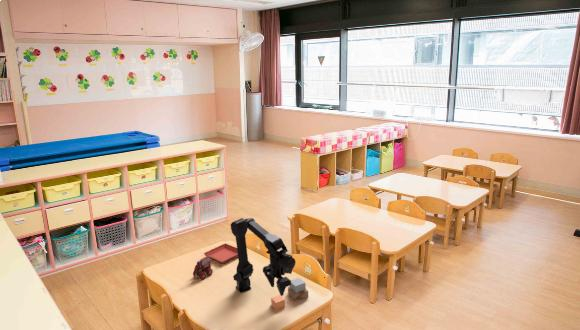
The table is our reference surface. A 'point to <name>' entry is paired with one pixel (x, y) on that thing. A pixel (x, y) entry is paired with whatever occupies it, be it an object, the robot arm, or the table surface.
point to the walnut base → (298, 294)
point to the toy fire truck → (203, 268)
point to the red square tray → (222, 253)
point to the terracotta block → (278, 302)
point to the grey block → (297, 285)
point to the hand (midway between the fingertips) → (277, 291)
